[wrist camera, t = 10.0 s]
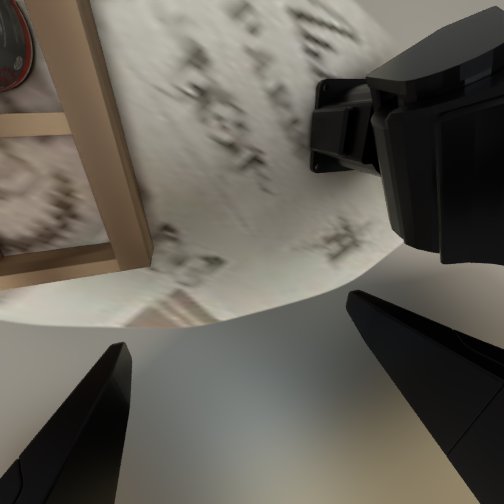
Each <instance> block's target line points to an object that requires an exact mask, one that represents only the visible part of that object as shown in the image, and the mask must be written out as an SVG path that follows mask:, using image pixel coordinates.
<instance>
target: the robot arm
mask: <svg viewBox="0 0 504 504" xmlns="http://www.w3.org/2000/svg"><path fill="white" fill-rule="evenodd" d="M324 84H325V85H326V90H325V91H324V90H323V86H324ZM310 147H311V149H312V153H311V164H310V169H311V171H312V172H314V173H326V172H337V171H348V170H358V171H362V172H366V173H369V174H373V175H377V176H380V177H381V178H382V184H383V189H384V194H385V200H386V205H387V210H388V216H389V221H390V224H391V227H392V230H393V231H394V232H396V233H397V234H398V235H399V236H400V237H401V238H402V239H403V240H404V243H405V244H406V245H409V246H411V247H413V248H416V249H419V250H424V251H428V252H433V253H440V262H441V263H442V264H456V263H468V262H470V263H490V264H498V265H503V266H504V11H503V10H502V9H500V8H499V7H497V6H494V7H491V8H488V9H486V10H483V11H481V12H478V13H476V14H474V15H471V16H469V17H466V18H464V19H462V20H459V21H457V22H455V23H452V24H450V25H447V26H445V27H443V28H441V29H439V30H437V31H436V32H434V33H433V34H431V35H429V36H428V37H426V38H425V39H423V40H421V41H420V42H418V43H417V44H415V45H414V46H412V47H410V48H409V49H407V50H406V51H404V52H402V53H401V54H399V55H398V56H396V57H395V58H393V59H391V60H390V61H388V62H387V63H385V64H383V65H382V66H380V67H379V68H377V69H376V70H374V71H372V72H371V73H369V74H368V75H366V79H325V80H321V81H320V82H319V84H318V87H317V96H316V107H315V111H314V113H313V121H312V133H311V145H310ZM317 164H318V168H317V169H315V166H316V165H317ZM346 309H347V312H348V314H349V315H350V317H351V318H352V321H353V322H354V324H355V326H356V327H357V329H358V331H359V333H360V334H361V336H362V338H363V339H364V341H365V343H366V344H367V346H368V347H369V348H370V350H371V351H372V353H373V354H374V355H375V357H376V358H377V359H378V361H379V362H380V364H381V365H382V367H383V368H384V369H385V371H386V372H387V373H388V375H389V376H390V378H391V379H392V380H393V382H394V383H395V385H396V386H397V387H398V389H399V390H400V391H401V393H402V395H403V396H404V397H405V399H406V400H407V401H408V403H409V404H410V406H411V407H412V409H413V410H414V411H415V413H416V414H417V416H418V417H419V418H420V420H421V421H422V423H423V424H424V425H425V427H426V428H427V429H428V431H429V432H430V434H431V435H432V437H433V438H434V439H435V441H436V442H437V444H438V445H439V446H440V448H441V449H442V451H443V452H444V453H445V455H447V458H448V459H449V461H450V462H451V463H452V465H453V466H454V468H455V469H456V470H457V472H458V473H459V475H460V476H461V477H462V478H463V480H464V482H465V483H466V484H467V486H468V487H469V488H470V490H471V491H472V493H473V494H474V495H475V497H476V498H477V500H478V501H479V503H480V504H504V349H502V348H500V347H497V346H494V345H492V344H489V343H486V342H483V341H481V340H479V339H476V338H474V337H471V336H469V335H466V334H464V333H462V332H459V331H457V330H453V329H451V328H450V327H447V326H445V325H442V324H440V323H438V322H435V321H433V320H430V319H428V318H426V317H423V316H421V315H418V314H416V313H414V312H411V311H409V310H407V309H404V308H402V307H399V306H397V305H395V304H392V303H390V302H387V301H385V300H383V299H380V298H378V297H375V296H373V295H371V294H368V293H366V292H364V291H361V290H354V291H350V292H349V293H348V298H347V302H346ZM131 375H132V357H131V355H130V352H129V350H128V348H127V345H126V343H125V342H119V343H115V344H112V345H111V346H109V348H108V349H107V350H106V351H105V353H104V354H103V355H102V357H100V359H99V360H98V361H97V362H96V363H95V365H94V366H93V367H92V368H91V370H90V371H89V372H88V373H87V374H86V376H85V377H84V378H83V379H82V380H81V382H80V383H79V384H78V385H77V386H76V388H75V389H74V390H73V391H72V393H71V394H70V395H69V396H68V397H67V399H66V400H65V401H64V402H63V403H62V405H61V406H60V407H59V408H58V410H57V411H56V412H55V413H54V414H53V416H52V417H51V418H50V419H49V420H48V422H47V423H46V424H45V425H44V426H43V428H42V429H41V430H40V431H39V432H38V434H37V435H36V436H35V438H33V440H32V441H31V442H30V444H29V445H28V446H27V447H26V448H25V449H24V451H23V452H22V453H21V454H20V456H19V459H16V460H15V461H14V463H13V464H12V465H11V466H10V468H9V469H8V470H7V471H6V472H5V474H4V475H3V476H2V477H1V478H0V504H114V503H115V496H116V490H117V484H118V478H119V471H120V466H121V460H122V453H123V448H124V441H125V435H126V429H127V422H128V417H129V410H130V397H131V377H132V376H131Z"/></svg>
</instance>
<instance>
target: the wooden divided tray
mask: <svg viewBox="0 0 504 504" xmlns="http://www.w3.org/2000/svg"><path fill="white" fill-rule="evenodd" d="M24 2H25V5H26V7H27V10H28V13H29V16H30V19H31V21H32V24H33V27H34V30H35V33H36V35H37V38H38V41H39V44H40V47H41V49H42V52H43V55H44V58H45V61H46V63H47V66H48V69H49V72H50V75H51V77H52V80H53V83H54V86H55V89H56V91H57V94H58V97H59V100H60V103H61V105H62V108H63V111H64V112H61V113H17V114H0V137H16V136H40V135H64V134H72V136H73V139H74V142H75V145H76V147H77V150H78V153H79V156H80V159H81V161H82V164H83V167H84V170H85V173H86V175H87V178H88V181H89V184H90V187H91V189H92V192H93V195H94V198H95V201H96V203H97V206H98V209H99V212H100V215H101V217H102V220H103V223H104V226H105V229H106V231H107V234H108V237H109V240H110V243H103V244H96V245H88V246H81V247H73V248H66V249H58V250H51V251H43V252H36V253H29V254H21V255H14V256H6V257H4V255H3V254H2V252H1V251H0V290H6V289H13V288H19V287H25V286H31V285H38V284H44V283H50V282H56V281H63V280H69V279H75V278H81V277H88V276H94V275H100V274H106V273H112V272H119V271H125V270H131V269H137V268H144V267H150V266H151V260H152V254H153V244H152V240H151V236H150V232H149V228H148V225H147V221H146V217H145V213H144V209H143V205H142V202H141V198H140V194H139V190H138V186H137V182H136V179H135V175H134V171H133V167H132V163H131V159H130V156H129V152H128V148H127V144H126V140H125V136H124V133H123V129H122V125H121V121H120V117H119V113H118V110H117V106H116V102H115V98H114V94H113V90H112V87H111V83H110V79H109V75H108V71H107V67H106V64H105V60H104V56H103V52H102V48H101V44H100V41H99V37H98V33H97V29H96V25H95V21H94V18H93V14H92V10H91V6H90V2H89V0H24Z"/></svg>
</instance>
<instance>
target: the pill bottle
mask: <svg viewBox="0 0 504 504" xmlns="http://www.w3.org/2000/svg"><path fill="white" fill-rule="evenodd" d="M32 57H33V48H32V41H31V36H30V32H29V29H28V26H27V24H26V21H25V19H24V17H23V15H22V13H21V11H20V9H19V8H18V6H17V4H16V3H15V1H14V0H0V92H2V91H6V90H9V89H11V88H13V87H15V86H17V85H18V84H20V83H21V82H22V81H23V80H24V79H25V77H26V76H27V74H28V72H29V70H30V67H31V63H32Z"/></svg>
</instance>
